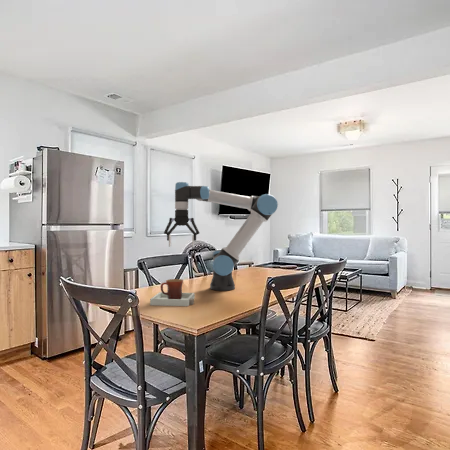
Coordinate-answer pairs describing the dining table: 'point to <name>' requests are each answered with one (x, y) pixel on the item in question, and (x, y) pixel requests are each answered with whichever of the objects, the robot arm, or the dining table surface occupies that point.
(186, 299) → the grey-green tray
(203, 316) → the dining table surface
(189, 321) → the dining table surface
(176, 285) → the mug
